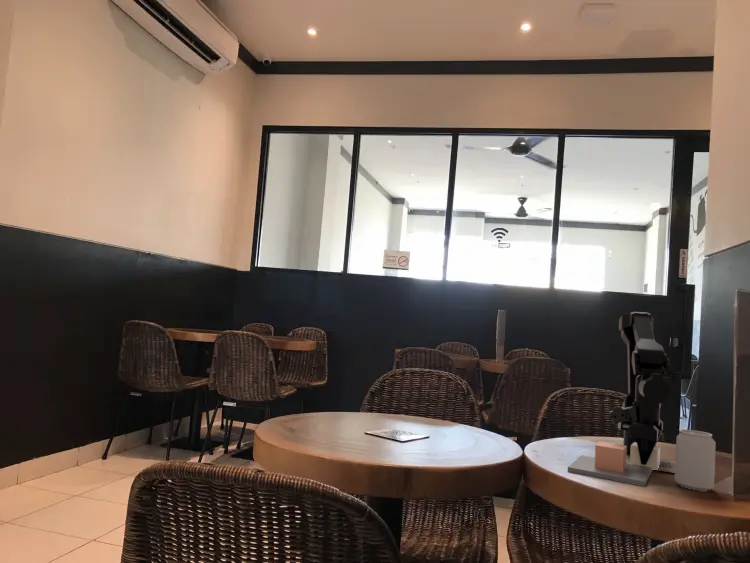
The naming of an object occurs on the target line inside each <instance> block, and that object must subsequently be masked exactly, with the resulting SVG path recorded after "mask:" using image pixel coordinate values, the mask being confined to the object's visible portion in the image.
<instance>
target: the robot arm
mask: <svg viewBox="0 0 750 563" xmlns="http://www.w3.org/2000/svg"><path fill="white" fill-rule="evenodd" d="M618 331H620V336H621V340H622V341H623V342H624V344H625V345H626V347H627V392H628V393H627V395H626V397H625V399H624V401H623V402H622V405H621V406H617V407H616V406H615V407H613V408H612V410H610V411H609V413H608V414H609V418H610V419H611V422H612V424H613V425H617V427H618V429H619V430H620V431H623V443H622V445H625V446H627V455H630V450H631V445H632V444H633V443H634V442H637V446H638V451H639V456H640V461H641V464H642V465H646V464H647V462H648V459H649V457H650V455H651V453H652V451H653V449H654V447H655V446H657V443H658V441H659V440H660V438H661V435H662V431H663V430H664V421H662V419H661V407H662V403H665V402H666V401H667V400H668V398H669V397H670V394H671V390H670V387H669V385H668V383H667V382H665V380H664V379H663V378H670V375H671V373H672V368H671V363H670V358H669V357H668V354H667V353H665V350H664V347H663V345H662V344H660V343H659V342H657V341H656V339H655V335H654V317H653V316H652V314H651V313H649V312H644V311H643V312H642V311H633V312H630V313H628V314H623V315H621V316H620V318H619V319H618Z"/></svg>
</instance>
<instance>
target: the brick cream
mask: <svg viewBox="0 0 750 563" xmlns="http://www.w3.org/2000/svg"><path fill="white" fill-rule="evenodd" d="M660 461H661V446H660V445H656V446H655V447H654V449H653V451H652V453H651V455H650V457H649V459H648V462H647V464H646V465H642V464H641V461H640V456H639V451H638V446H637V442H634V443H633V444H632V445H631V450H630V454H629V464H634V465H640V466H646V467H651V468H652V469H653V470H657V468H658V466H659V465H661V464H660V463H661V462H660ZM653 470H652V471H653ZM657 471H658V470H657Z"/></svg>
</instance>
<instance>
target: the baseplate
mask: <svg viewBox="0 0 750 563" xmlns="http://www.w3.org/2000/svg"><path fill="white" fill-rule="evenodd" d="M567 472H569V473H574V474H578V475H579V474H580V475H583V474H585V475H584V476H589V475H591V476H590V477H594V476H595V477H594V478H599V477H600V478H599V479H604V478H606V479H605V480H609V479H611V480H610V481H615V480H616V482H620V481H623V482H622V483H625V482H629V483H628V484H630V483H634V484H633V485H635V484H638V485H637V486H641V485H643V486H642V487H646V485H645V484H647V483H648V481H647V480H649V479H650V477H649V476H651V474H652V472H653V470H652V468H651V467H646V466H640V465H634V464H630V463H627V462H626V468H625V470H624V471H623V472H618V471H613V470H607V469H602V468H597V467H595V456H588V455H583V454H581V455H580V456H579V457H578V458H577V459H576V460H575V461H573V462H572V463H570V465H568V466H567ZM648 478H649V479H648ZM646 482H647V483H646Z"/></svg>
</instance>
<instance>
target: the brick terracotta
mask: <svg viewBox="0 0 750 563" xmlns="http://www.w3.org/2000/svg"><path fill="white" fill-rule="evenodd" d="M594 450H595V453H594V458H595V467H597V468H602V469H607V470H613V471H618V472H623V471H624V470H625V468H626V463H627V455H628V454H627V446H625V445H623V444H618V443H612V442H607V441H601V440H600V441H598V442H597V443H596V444H595V449H594Z"/></svg>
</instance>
